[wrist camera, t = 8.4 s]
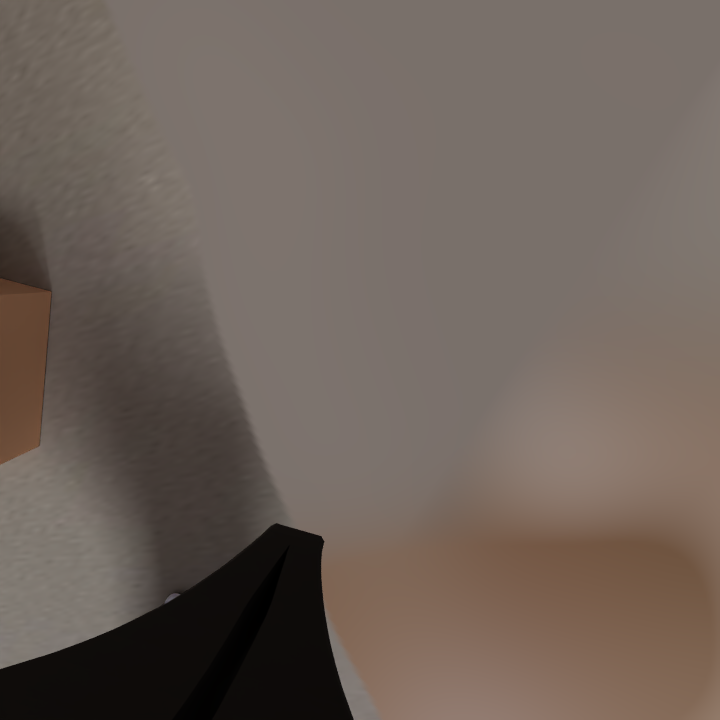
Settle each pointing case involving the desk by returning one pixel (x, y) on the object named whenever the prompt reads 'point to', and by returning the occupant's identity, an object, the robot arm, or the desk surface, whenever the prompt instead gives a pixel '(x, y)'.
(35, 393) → the tan rectangular slab
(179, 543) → the desk surface
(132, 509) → the desk surface
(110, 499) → the desk surface
